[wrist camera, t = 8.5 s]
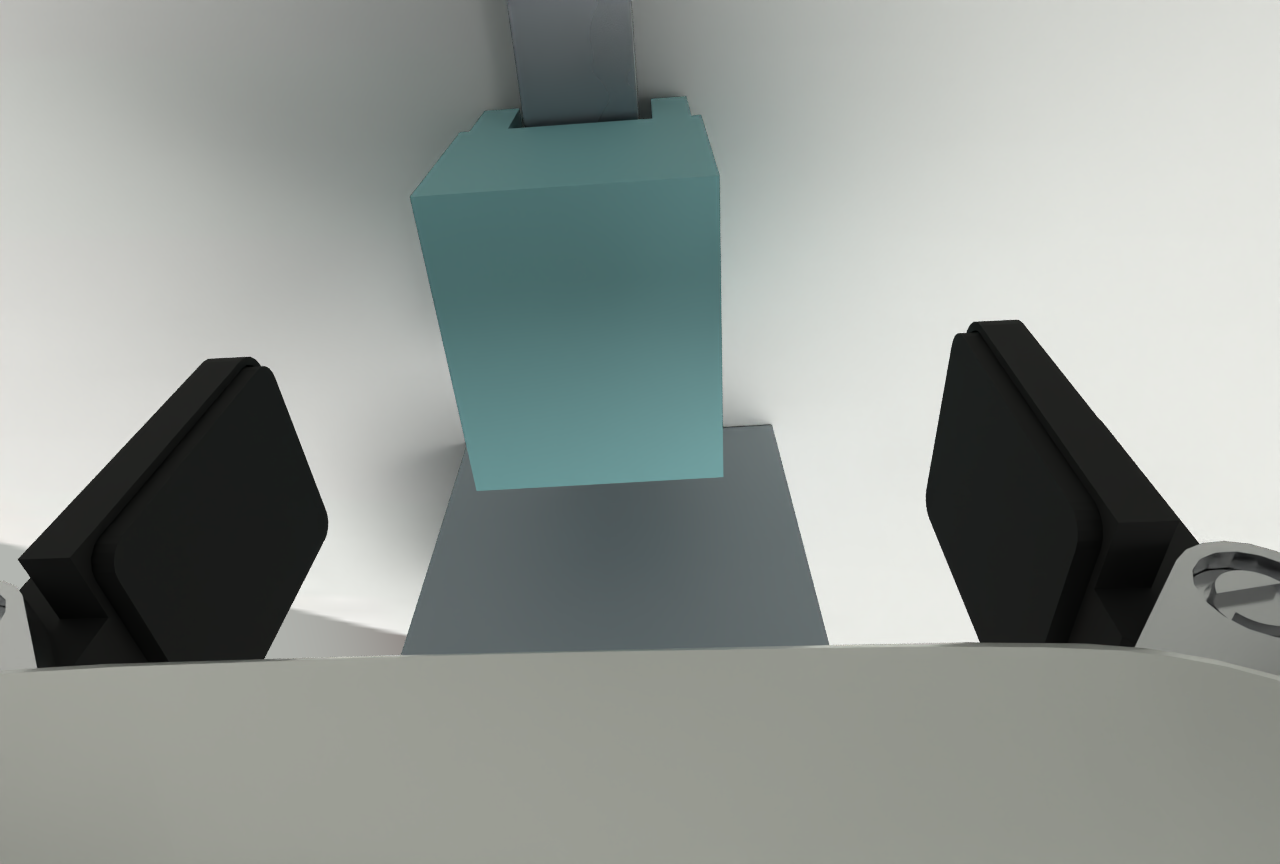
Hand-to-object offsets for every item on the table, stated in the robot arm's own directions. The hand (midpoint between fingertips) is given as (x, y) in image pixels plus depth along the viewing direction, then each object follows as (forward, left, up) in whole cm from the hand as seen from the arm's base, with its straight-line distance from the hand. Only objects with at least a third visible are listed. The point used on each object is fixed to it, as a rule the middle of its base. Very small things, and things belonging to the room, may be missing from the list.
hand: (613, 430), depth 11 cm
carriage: (+1, -1, -10) cm, 10 cm away
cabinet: (+10, -1, -10) cm, 14 cm away
